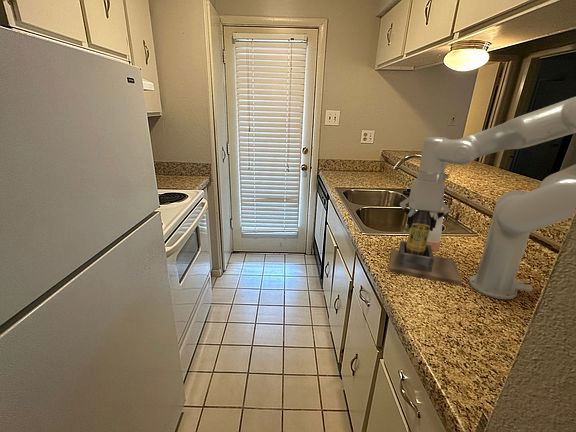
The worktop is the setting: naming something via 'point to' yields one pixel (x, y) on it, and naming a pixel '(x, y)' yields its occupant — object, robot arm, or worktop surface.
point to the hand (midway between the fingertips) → (420, 227)
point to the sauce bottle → (419, 232)
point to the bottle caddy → (424, 265)
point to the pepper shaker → (435, 233)
